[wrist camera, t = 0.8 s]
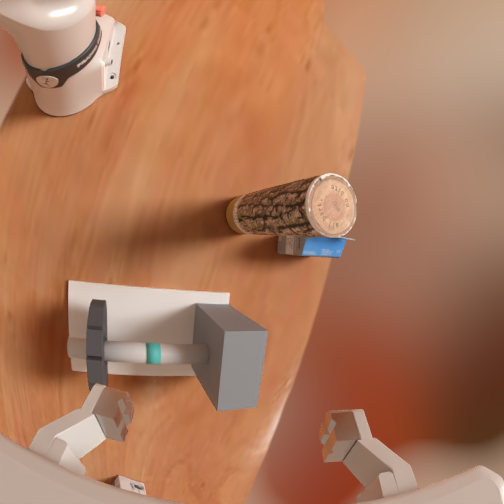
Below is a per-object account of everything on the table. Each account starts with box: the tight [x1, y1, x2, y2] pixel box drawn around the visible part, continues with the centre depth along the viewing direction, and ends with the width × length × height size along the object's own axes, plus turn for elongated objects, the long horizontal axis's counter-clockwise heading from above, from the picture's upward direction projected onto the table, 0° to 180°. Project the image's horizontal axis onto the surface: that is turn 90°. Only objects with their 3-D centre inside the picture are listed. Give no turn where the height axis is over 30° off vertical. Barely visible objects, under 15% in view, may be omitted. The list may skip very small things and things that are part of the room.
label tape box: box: [277, 235, 354, 258], centre depth 52 cm, size 9×4×12 cm, turn 86°
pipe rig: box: [67, 280, 268, 411], centre depth 39 cm, size 16×28×16 cm, turn 83°
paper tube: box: [226, 173, 357, 238], centre depth 41 cm, size 7×7×25 cm
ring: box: [86, 299, 108, 391], centre depth 35 cm, size 14×2×14 cm, turn 173°
